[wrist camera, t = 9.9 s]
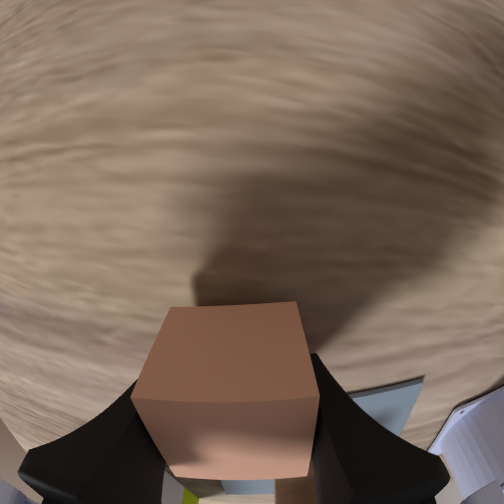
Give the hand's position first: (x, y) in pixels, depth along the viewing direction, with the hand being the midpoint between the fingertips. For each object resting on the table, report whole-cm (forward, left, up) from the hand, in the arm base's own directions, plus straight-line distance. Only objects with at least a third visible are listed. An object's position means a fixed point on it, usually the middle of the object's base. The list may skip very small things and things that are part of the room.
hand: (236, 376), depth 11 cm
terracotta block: (0, 0, -2) cm, 2 cm away
